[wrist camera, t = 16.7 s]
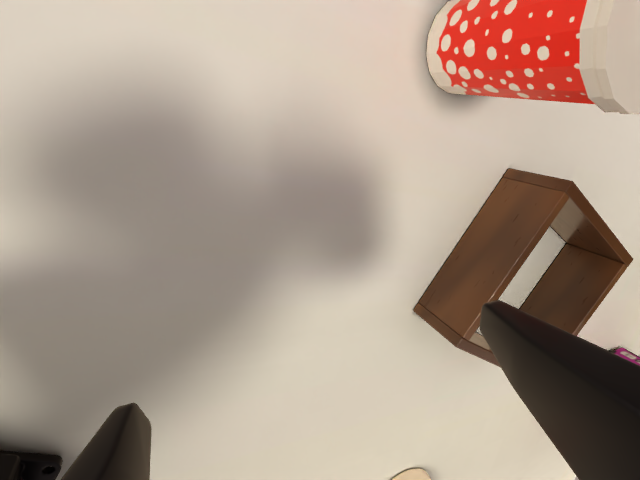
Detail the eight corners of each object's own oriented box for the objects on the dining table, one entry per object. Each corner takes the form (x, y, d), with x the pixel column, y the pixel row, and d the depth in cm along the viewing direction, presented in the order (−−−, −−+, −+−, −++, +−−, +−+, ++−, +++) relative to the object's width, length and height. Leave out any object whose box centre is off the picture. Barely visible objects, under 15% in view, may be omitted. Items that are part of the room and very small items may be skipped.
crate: (494, 351, 30) (540, 385, 26) (412, 310, 24) (456, 347, 21) (574, 239, 29) (633, 259, 25) (508, 167, 23) (572, 180, 19)
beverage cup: (520, 0, 19) (1141, -170, 7) (483, 118, 21) (925, 145, 9) (433, -44, 16) (1193, -442, 4) (400, 95, 18) (868, 90, 6)
